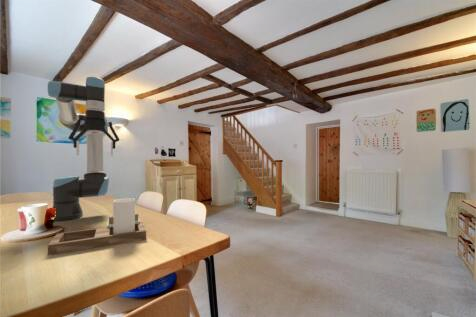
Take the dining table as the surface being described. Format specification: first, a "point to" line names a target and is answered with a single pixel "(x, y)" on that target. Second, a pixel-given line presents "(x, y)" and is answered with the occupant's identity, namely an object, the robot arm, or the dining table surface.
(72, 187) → the robot arm
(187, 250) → the dining table surface
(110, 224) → the lid
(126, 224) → the cup
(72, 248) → the board
